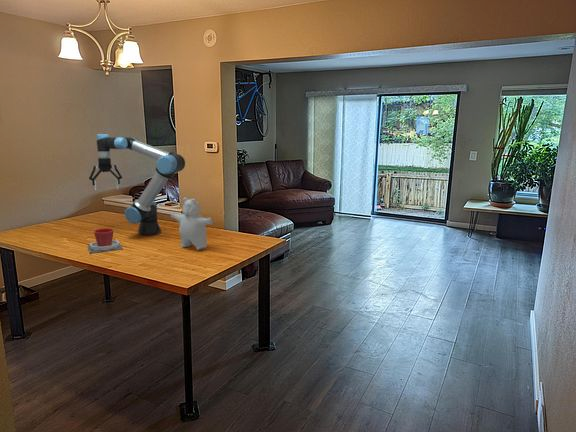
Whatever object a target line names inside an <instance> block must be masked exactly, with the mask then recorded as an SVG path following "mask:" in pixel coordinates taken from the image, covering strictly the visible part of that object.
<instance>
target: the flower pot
mask: <svg viewBox="0 0 576 432" xmlns="http://www.w3.org/2000/svg"><path fill="white" fill-rule="evenodd" d="M93 234H94V238H95V242H96V241H97V245H98V247H103V246H111V245H112V240H113V237H114V236H113V235H114V229H113V228H97V229H95V230H94V231H93Z"/></svg>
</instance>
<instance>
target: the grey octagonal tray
mask: <svg viewBox="0 0 576 432" xmlns="http://www.w3.org/2000/svg"><path fill="white" fill-rule="evenodd" d="M87 248H88V252H89V254H97V253H98V254H99V253H106V252H114V251H122V250H124V248H123V246H122V245H121V244H120V242H119V240H117V239H112V245H111V246H103V247H98V245H97V241H96V240H95V241H94V242H91V243H89V244H87Z"/></svg>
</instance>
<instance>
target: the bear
mask: <svg viewBox="0 0 576 432" xmlns="http://www.w3.org/2000/svg"><path fill="white" fill-rule="evenodd" d="M182 200H183V205H182V213H180V214H179V213H176V212H170V216H171V219H175V221H177V222H178V223H179V229H178V232H179V235H180V242H181V243H180V247H182V248H189V247H191V246H192V245H193V246H194V247H195V249H196V251H199V250H201V251H202V250H204V249H206V248H207V246H208V240H207V239H208V238H207V229H206V226H208V225H213V222H214V221H213V220H212V218H211V217H207V218H206V217H203V215H201V214H199V213H200V210H201V208H200V207H201V206H200V204H199V202H198V201H197V200H196V199H195V198H191V199H190V198H187V197H184V198H183V199H182Z"/></svg>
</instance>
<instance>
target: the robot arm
mask: <svg viewBox="0 0 576 432" xmlns="http://www.w3.org/2000/svg"><path fill="white" fill-rule="evenodd" d="M96 147H97V158H98V159H97V163H98V164H97V165H95V164H94V165H93V167H92V170H91V172H90V176H89V177H88V180H90V181H92V182H91V183H92V186H94V191H97V182H96V180H97V177H98V176H99V175H100V174H101V173H108V172H110V173H111V175H113V176H114V177H115V178H116V179H115V181H116V182H115V183H116V185H115V186H116V189H117V190H119V185H120V184H121V182H120V181H121V179H123V175H121V173H120V171H119V169H118V168H117V165H116V164H113V165H112V159H111V150H125V149H128V150H130V151H133V152H135V153H138V154H141V155H144V156H146V157H149V158H151V159H153V160H156V167H155V173H154V175H153V176H152V178H151V179H150V180H149V182H148V183H147V185H146V187H145V188H144V190H143V192H142V194H141V195H140V196H139V198H138V199H135V200H134V201H133V203H132V204H131V206H129V207H127V208H126V209H125V211H124V216H125V219H126V220H127V222H129V223H130V224H132V225H133V224H139V225H138V230H137V233H138V235H141V236H153V235H154V236H155V235H159V234H160V233H161V230H162V229H161V227H160V225H159V222H158V206H157V202H156V201H155V199H156V198H157V197H158V195H159V194H160V193H161V191H162V189H163V187H164V186H165V185H166V183H167V182H168V180H171V179H172V178H173V177H174V176H175V174H176V173H178V172H182V171H183V170H184V169H185V166H186V160H185V157H184V156H182V155H181V154H179V153H176V152H172V151H166V150H163V149H161V148H158V147H156V146H153V145H150V144H148V143H145V142H142V141H139V140H137V139H136V138H135V137H133V136H132V137H131V136H126V137H125V136H123V137H122V136H119V137H110V135H109V134H108V133H106V134H105V133H104V134H103V133H98V134H96ZM97 169H98V171H97V172H96V170H97ZM112 169H114V170H115V172H116V173H117V174H116V173H115V172H114V171H113V170H112ZM95 172H96V173H95ZM94 174H95V175H94Z"/></svg>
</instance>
